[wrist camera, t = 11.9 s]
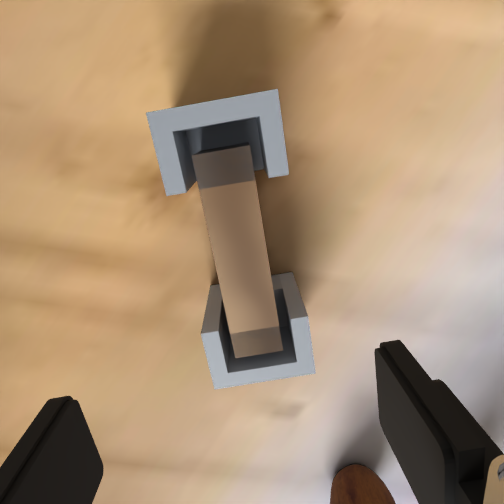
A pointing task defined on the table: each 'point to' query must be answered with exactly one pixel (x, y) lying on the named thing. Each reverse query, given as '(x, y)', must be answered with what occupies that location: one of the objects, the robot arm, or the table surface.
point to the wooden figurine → (359, 487)
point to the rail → (239, 247)
